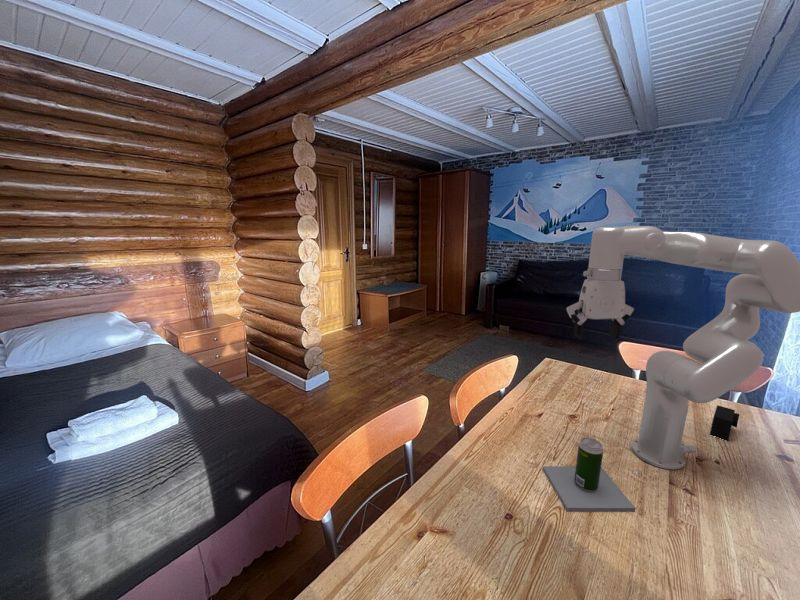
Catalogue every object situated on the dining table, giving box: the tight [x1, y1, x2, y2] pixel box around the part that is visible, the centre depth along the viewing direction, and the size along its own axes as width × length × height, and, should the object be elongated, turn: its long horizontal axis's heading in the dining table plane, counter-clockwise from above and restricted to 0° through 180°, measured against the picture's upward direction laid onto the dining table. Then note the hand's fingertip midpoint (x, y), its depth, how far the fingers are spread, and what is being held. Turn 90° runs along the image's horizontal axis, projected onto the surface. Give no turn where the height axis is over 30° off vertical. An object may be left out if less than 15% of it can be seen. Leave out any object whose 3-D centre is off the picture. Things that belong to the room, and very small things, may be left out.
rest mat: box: [542, 465, 636, 513], centre depth 85 cm, size 16×14×1 cm
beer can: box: [574, 437, 604, 492], centre depth 83 cm, size 5×5×12 cm
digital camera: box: [709, 405, 740, 442], centre depth 107 cm, size 10×5×7 cm, turn 132°
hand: (596, 337), depth 90 cm, fingers open, 9 cm apart
